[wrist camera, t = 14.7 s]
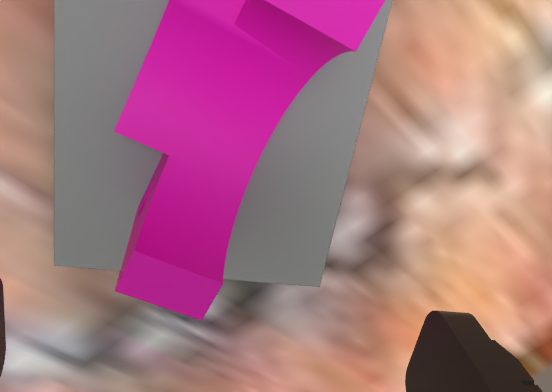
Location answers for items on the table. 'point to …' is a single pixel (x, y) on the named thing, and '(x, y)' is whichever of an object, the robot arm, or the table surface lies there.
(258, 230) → the slate board
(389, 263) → the table surface
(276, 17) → the magenta cradle holder
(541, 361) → the table surface
